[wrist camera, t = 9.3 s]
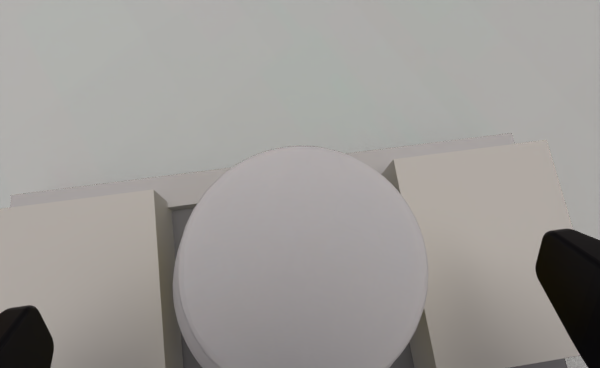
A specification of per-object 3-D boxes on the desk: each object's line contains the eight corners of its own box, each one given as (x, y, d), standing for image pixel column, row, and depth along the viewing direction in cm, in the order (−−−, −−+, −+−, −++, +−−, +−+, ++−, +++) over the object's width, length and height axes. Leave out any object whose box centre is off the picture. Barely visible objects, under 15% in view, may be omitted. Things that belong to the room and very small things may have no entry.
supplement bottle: (378, 237, 17) (503, 155, 8) (343, 386, 16) (444, 515, 6) (240, 198, 17) (194, 70, 8) (194, 343, 16) (68, 404, 6)
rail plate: (490, 148, 19) (538, 113, 16) (548, 367, 17) (619, 385, 14) (36, 205, 18) (-24, 181, 14) (36, 455, 16) (-35, 500, 12)
